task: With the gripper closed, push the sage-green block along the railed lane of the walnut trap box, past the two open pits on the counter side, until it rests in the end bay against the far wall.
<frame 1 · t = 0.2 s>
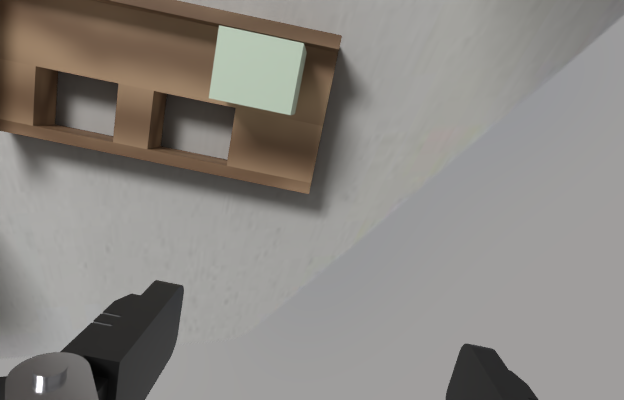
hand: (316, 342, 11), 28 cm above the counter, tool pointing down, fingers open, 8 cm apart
trap box: (167, 86, 37), on the counter
block: (265, 76, 34), point 3 cm above the counter, touching trap box
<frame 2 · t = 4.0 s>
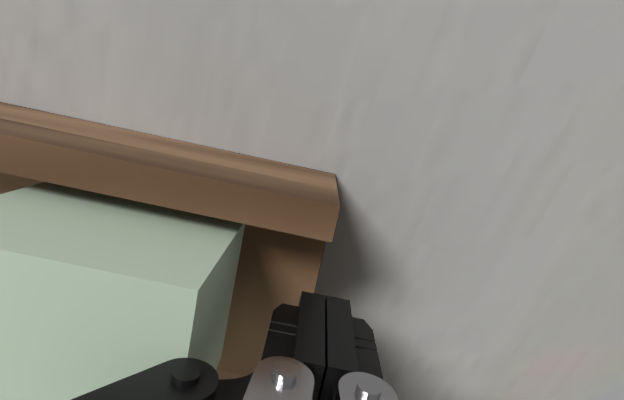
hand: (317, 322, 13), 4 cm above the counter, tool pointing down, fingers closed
block: (142, 272, 13), point 3 cm above the counter, touching gripper
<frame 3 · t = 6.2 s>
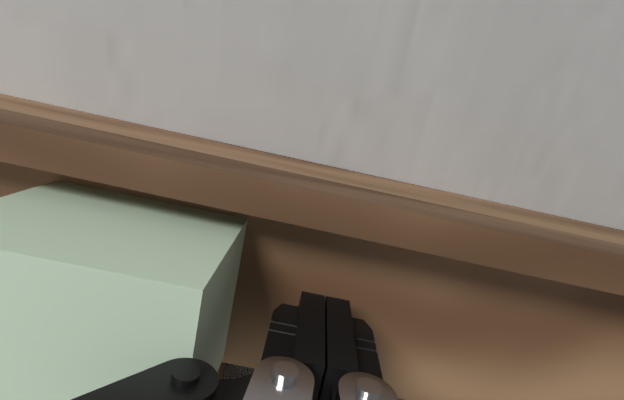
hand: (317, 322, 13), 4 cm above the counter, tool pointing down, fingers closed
trap box: (236, 305, 17), on the counter
block: (144, 272, 13), point 3 cm above the counter, touching gripper, trap box
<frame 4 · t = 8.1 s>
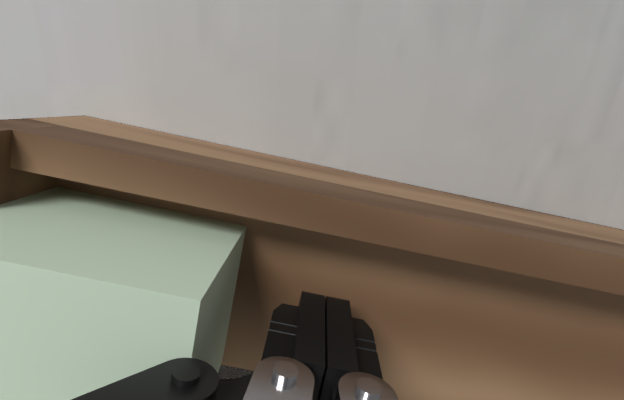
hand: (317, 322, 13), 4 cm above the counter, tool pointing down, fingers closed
trap box: (417, 344, 17), on the counter
block: (143, 278, 13), point 3 cm above the counter, touching gripper, trap box
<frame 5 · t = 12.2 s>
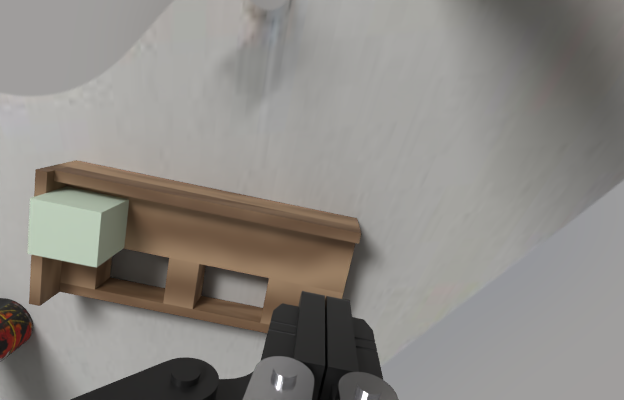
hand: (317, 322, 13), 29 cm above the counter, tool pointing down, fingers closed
trap box: (208, 248, 43), on the counter
deodorant: (7, 321, 46), on the counter
block: (96, 217, 39), point 3 cm above the counter, touching trap box
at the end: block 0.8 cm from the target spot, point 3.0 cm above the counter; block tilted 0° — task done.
